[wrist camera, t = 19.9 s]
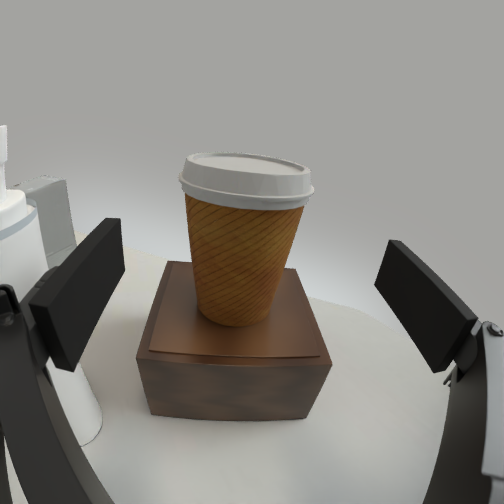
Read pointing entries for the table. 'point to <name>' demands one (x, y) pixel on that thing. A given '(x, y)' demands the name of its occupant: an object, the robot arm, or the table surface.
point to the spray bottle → (24, 278)
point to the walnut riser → (230, 356)
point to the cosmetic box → (52, 216)
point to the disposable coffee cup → (241, 230)
